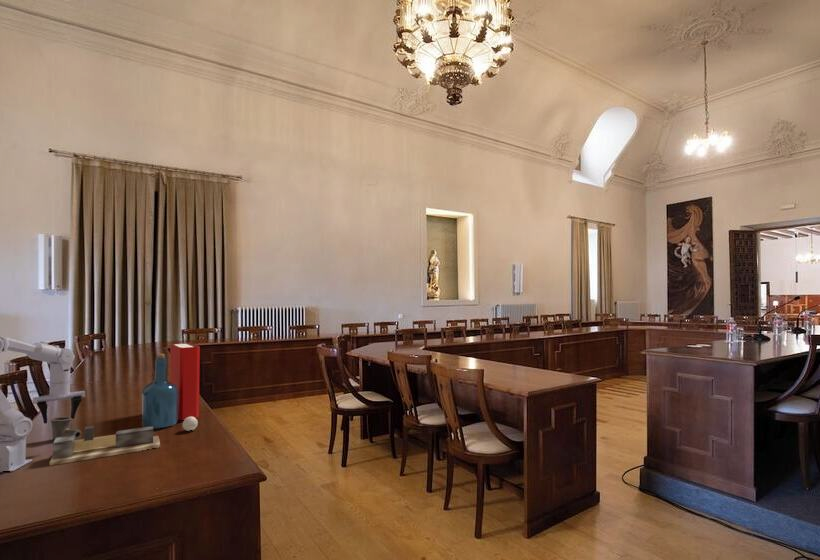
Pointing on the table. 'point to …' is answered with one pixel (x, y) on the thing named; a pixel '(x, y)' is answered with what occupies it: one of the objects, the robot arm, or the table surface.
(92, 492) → the table surface
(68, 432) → the pipe
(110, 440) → the tan flat block
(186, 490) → the table surface
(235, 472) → the table surface
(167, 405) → the wine bottle
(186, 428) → the white oval ball
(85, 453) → the grey blocks on plank
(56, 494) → the table surface
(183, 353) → the book
